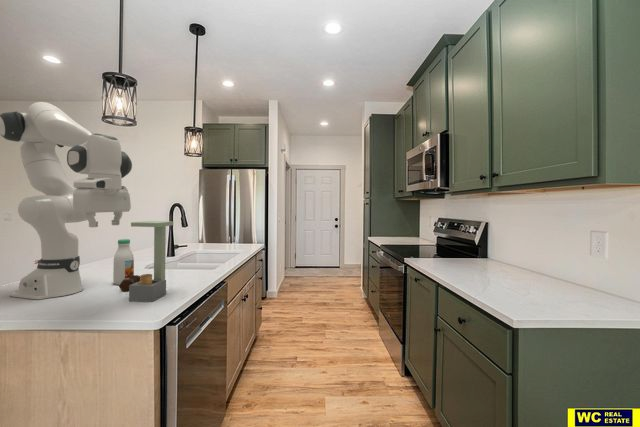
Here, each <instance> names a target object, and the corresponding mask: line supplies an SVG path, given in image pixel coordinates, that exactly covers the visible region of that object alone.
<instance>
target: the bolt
mask: <svg viewBox="0 0 640 427" xmlns="http://www.w3.org/2000/svg"><path fill="white" fill-rule="evenodd" d="M139 281H140V275H137V274H136V275H135V274H134V275H133V276H131V277H130V278H129V279H124V280H123V281H122V282H121V284H120V285H118V286H119V290H120V291H121V292H124V293H126V292H129V285H131V284H134V283H136V282H139Z"/></svg>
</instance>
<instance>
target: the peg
mask: <svg viewBox="0 0 640 427" xmlns="http://www.w3.org/2000/svg"><path fill="white" fill-rule="evenodd" d="M139 276H140V284H146V285H151V284H152V280H153V274H152V273H151V274H150V273H144V274H141V275H139Z"/></svg>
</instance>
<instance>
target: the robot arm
mask: <svg viewBox="0 0 640 427" xmlns="http://www.w3.org/2000/svg"><path fill="white" fill-rule="evenodd" d="M0 136H1V137H3V139H5V140H7V141H11V142H17V143H19V142H23V143H22V144H21V145H20V156H21V157H20V158H21V161H22V164H23V167H24V171H25V172H26V175H27V178H28V181H29V182H30V185H31V187H32V188H33V189H35V190H36V191H38V192H41V193H42V195H33V196H28V197H27V196H26V197H24V198H23V199H22V200H21V201H20V202H19V204H18V205H17V214H18V216H19V217H20V219H21V220H23V221H24V222H25V223H27V224H28V225H30V226H31V227H33V228H34V230H35V231H36V232H37V234H38V236H39V240H40V249H41V250H40V251H41V258H40V259H38V260H35V261H34V265H35V264H37V265H36V269H34V270H33V271H31V272H29V273H28V274H27V275H25V276H24V277H22V278H21V279H20V281H19V285H18V290H15V291H12V292H11V293H9V296H10V297H14V298H21V299H29V300H30V299H31V300H43V299H49V298H55V297H56V298H57V297H62V296H68V295H72V294H76V293H80V292H82V291H83V290H84V286H83V284H82V280H81V274H80V265H81V264H80V263H81V260H80V255H79V238H78V236H77V235H75V234H74V233H71V232H69V231H68V229H67V227H66V225H65V224H67V223H68V224H69V223H70V224H71V223H81V222H86V221H87V222H88V227H89V228H98V227H99V221H96V218H95V217H96V216H97V214H98V213H113V215H114V217H113V219H112V220H111V225H112V226H119V225H120V223H121V221H120V220H121V219H122V216H123V213H127V212H128V213H129V212H130V211H131V208H132V205H131V204H132V203H131V196H130V195H131V194H130V193H129V190H128V189H127V187H126V186H125V185H122V182H123V181H122V179H123V178H124V177H126V176H127V175H129V174H130V173H131V171H132V168H133V163H132V160H131V158H130V156H129V155H128V154H127V153H126V152H125V151H122V147H121V143H120V140H119V139H118V138H116V137H114V136H111V135H105V134H102V133H93V132H91V131H89V130H88V129H87V128H85V127H84V126H82V125H80V124H79V123H78V122H77V121H75V120H74V119H72V118H71V117H70V116H69V114H67V113H66V112H64V111H63V110H62V109H60V108H59V107H57V106H55V105H54V104H51V103H49V102H45V101H37V102H33V103H32V104H30V105H29V107H28V108H27V111H26V112H18V111H17V110H16V111H8V112H2V113H1V114H0ZM56 146H57V147H59V148H64V147H69V148H70V149H69V150H68V151H67V153H66V163H67V166H68V167H69V168H70V169H71V170H72V171H73V172H74V173H77V174H81V175H87V177H84V178H81V179H77V180H74V181H73V184H72V183H71V182H70V181H69V179H68V177H67V175H66V172H65V170H64V169H63V165H62V164H61V162H60V159H59V157H58V155H57V153H56ZM43 194H44V195H43ZM96 213H97V214H96Z"/></svg>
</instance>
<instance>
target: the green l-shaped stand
mask: <svg viewBox="0 0 640 427" xmlns="http://www.w3.org/2000/svg"><path fill="white" fill-rule="evenodd" d="M168 226H174V221H170V220H168V221H165V220H164V221H163V220H144V221H132V222H130V227H134V228H135V227H138V228H141V227H142V228H143V227H144V228H153V230H154V231H153V232H154V235H153V238H154V239H153V246H154V247H153V280H166V242H167V241H166V238H167V237H166V234H167V233H166V232H167V230H166V229H167V228H166V227H168Z"/></svg>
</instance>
